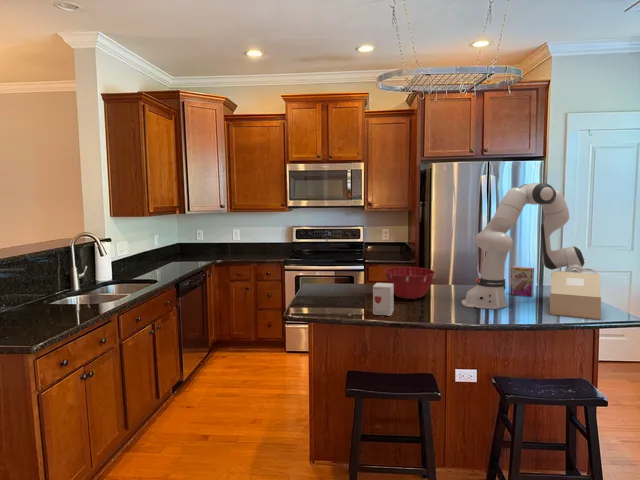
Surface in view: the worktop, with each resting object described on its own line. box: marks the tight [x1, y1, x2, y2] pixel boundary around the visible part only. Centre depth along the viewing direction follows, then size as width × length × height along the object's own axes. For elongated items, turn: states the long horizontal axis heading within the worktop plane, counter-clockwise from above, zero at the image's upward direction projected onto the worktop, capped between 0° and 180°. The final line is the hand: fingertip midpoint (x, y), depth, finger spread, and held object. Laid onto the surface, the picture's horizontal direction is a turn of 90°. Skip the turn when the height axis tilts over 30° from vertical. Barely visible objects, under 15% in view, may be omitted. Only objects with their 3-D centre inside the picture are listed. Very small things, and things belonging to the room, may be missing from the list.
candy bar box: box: [510, 265, 535, 298], centre depth 235 cm, size 11×5×16 cm, turn 50°
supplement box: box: [372, 282, 395, 317], centre depth 203 cm, size 9×9×15 cm
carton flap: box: [550, 270, 602, 299], centre depth 194 cm, size 15×20×1 cm
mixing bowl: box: [384, 266, 435, 300], centre depth 238 cm, size 28×28×16 cm
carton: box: [549, 292, 602, 321], centre depth 197 cm, size 16×20×10 cm
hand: (574, 279), depth 199 cm, fingers closed
